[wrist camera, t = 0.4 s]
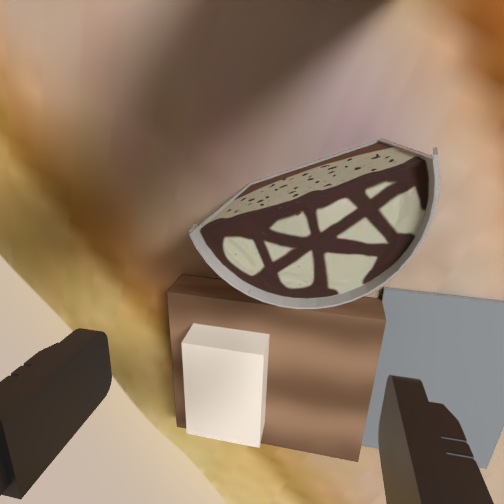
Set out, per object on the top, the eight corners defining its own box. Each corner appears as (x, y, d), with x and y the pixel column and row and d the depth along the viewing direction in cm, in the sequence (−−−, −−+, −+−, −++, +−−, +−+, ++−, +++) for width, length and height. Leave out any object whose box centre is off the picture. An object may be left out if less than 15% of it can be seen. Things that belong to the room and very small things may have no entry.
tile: (193, 323, 29) (181, 342, 27) (269, 334, 28) (263, 355, 26) (197, 409, 33) (186, 433, 30) (264, 422, 32) (259, 447, 29)
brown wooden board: (181, 274, 31) (166, 292, 28) (381, 298, 28) (386, 320, 26) (188, 402, 37) (176, 426, 34) (356, 432, 34) (357, 462, 31)
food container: (258, 263, 29) (224, 339, 20) (230, 189, 27) (178, 237, 18) (425, 219, 25) (475, 289, 16) (405, 130, 24) (449, 153, 15)
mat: (383, 287, 28) (384, 289, 28) (547, 306, 26) (551, 309, 26) (354, 440, 34) (354, 444, 34) (484, 464, 32) (486, 468, 32)
